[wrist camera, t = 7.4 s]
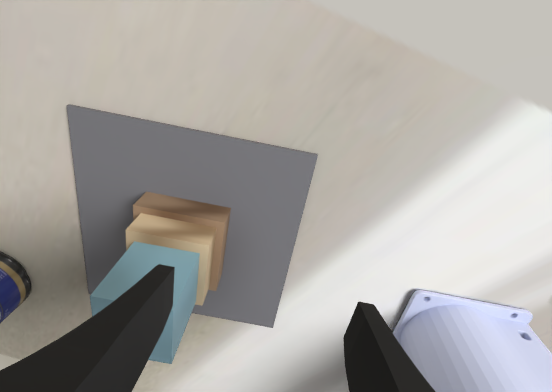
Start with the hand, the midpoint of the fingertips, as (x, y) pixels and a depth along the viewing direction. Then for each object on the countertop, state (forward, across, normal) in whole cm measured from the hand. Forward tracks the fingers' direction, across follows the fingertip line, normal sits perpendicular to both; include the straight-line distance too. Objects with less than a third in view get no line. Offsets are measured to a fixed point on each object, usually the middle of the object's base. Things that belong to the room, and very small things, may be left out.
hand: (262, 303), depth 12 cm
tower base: (+10, +6, +5) cm, 13 cm away
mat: (+10, +6, +5) cm, 13 cm away
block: (+6, +6, +5) cm, 10 cm away
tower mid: (+8, +6, +5) cm, 11 cm away
